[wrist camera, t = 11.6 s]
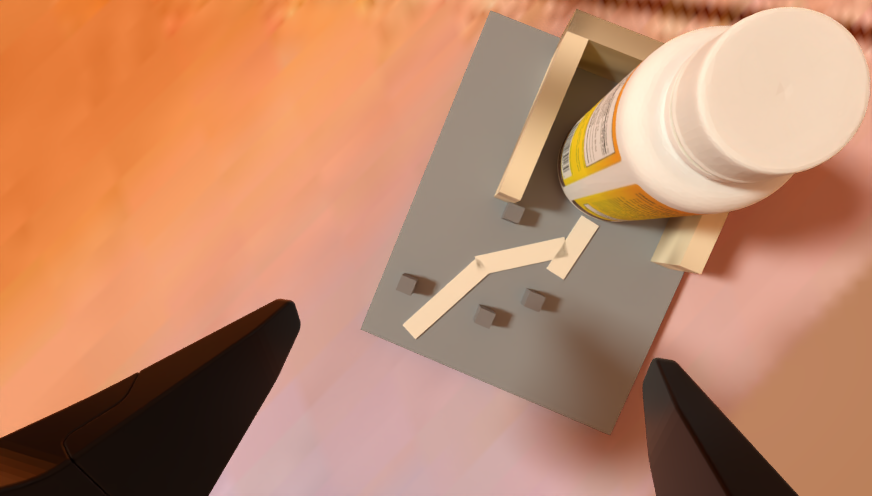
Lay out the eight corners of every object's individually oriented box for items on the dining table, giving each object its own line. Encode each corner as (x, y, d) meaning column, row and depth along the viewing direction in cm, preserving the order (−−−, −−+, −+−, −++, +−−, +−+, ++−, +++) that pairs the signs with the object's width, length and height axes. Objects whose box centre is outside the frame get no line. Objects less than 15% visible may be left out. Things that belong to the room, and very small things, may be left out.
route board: (605, 429, 20) (618, 445, 19) (363, 326, 21) (355, 334, 19) (746, 118, 19) (772, 108, 18) (489, 17, 20) (492, -2, 18)
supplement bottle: (685, 192, 19) (952, 145, 9) (582, 240, 19) (724, 249, 9) (637, 90, 19) (851, -75, 9) (535, 140, 19) (625, 37, 9)
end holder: (669, 268, 19) (701, 274, 17) (493, 197, 20) (499, 191, 17) (741, 109, 19) (784, 90, 16) (560, 38, 19) (576, 8, 17)
